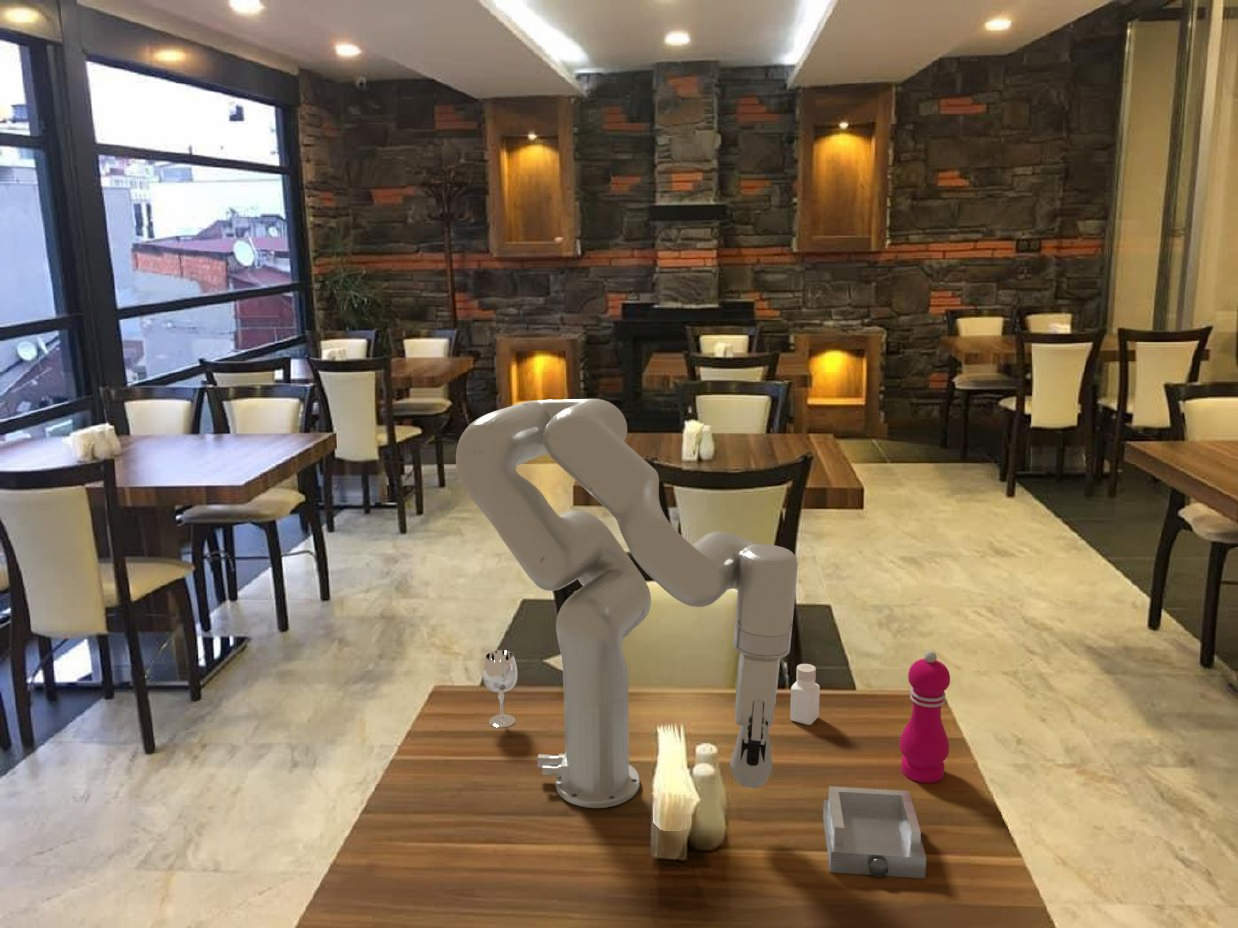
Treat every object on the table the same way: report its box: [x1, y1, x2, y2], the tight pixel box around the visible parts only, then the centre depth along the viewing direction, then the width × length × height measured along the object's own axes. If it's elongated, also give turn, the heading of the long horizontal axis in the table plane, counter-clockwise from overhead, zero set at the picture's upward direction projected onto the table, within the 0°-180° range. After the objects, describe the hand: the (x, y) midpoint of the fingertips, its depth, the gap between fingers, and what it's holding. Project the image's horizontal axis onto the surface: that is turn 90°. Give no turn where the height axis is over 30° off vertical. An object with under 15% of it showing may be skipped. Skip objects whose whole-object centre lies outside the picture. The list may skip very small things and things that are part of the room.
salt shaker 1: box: [729, 701, 773, 789], centre depth 137 cm, size 6×6×13 cm
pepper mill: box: [899, 650, 951, 784], centre depth 151 cm, size 7×7×20 cm
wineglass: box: [482, 649, 518, 729], centre depth 169 cm, size 6×6×12 cm
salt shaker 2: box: [789, 663, 821, 726], centre depth 169 cm, size 4×4×10 cm
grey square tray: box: [822, 786, 927, 880], centre depth 134 cm, size 12×13×6 cm
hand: (751, 758), depth 138 cm, fingers closed on salt shaker 1, 3 cm apart
